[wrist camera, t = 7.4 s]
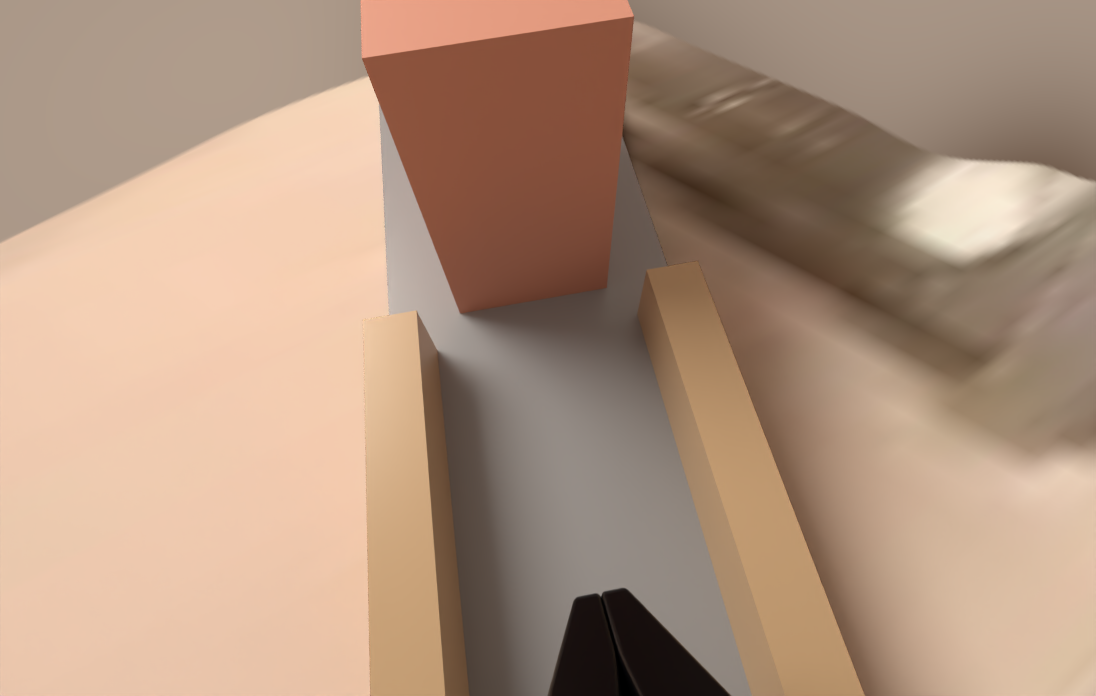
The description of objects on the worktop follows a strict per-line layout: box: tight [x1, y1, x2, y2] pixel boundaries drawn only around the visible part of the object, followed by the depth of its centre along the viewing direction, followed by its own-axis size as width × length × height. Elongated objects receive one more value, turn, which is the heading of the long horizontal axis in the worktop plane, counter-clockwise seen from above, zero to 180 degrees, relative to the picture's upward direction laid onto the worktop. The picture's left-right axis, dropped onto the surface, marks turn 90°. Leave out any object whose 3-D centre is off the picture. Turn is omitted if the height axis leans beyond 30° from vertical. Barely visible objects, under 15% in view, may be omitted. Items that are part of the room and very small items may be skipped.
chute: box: [363, 104, 865, 696], centre depth 16 cm, size 26×10×3 cm, turn 10°
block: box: [361, 0, 634, 313], centre depth 15 cm, size 9×5×9 cm, turn 10°
